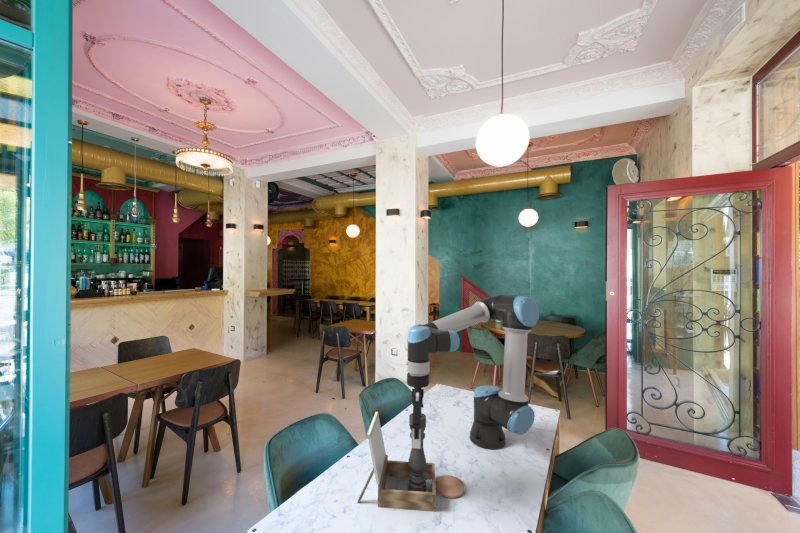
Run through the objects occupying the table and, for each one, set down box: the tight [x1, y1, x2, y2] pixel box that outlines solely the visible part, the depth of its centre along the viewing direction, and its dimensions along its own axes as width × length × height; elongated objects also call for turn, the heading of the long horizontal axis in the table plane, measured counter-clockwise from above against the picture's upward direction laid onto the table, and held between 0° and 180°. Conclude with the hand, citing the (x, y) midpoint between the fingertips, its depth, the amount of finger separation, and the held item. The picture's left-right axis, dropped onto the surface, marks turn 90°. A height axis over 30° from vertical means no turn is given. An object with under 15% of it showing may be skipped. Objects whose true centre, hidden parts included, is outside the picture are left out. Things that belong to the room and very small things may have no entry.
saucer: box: [435, 474, 465, 500], centre depth 105 cm, size 10×10×1 cm
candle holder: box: [407, 412, 427, 492], centre depth 103 cm, size 6×6×25 cm
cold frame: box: [356, 454, 437, 512], centre depth 104 cm, size 25×16×12 cm, turn 85°
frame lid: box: [366, 411, 387, 485], centre depth 105 cm, size 4×16×15 cm, turn 175°
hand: (416, 436), depth 103 cm, fingers open, 13 cm apart
